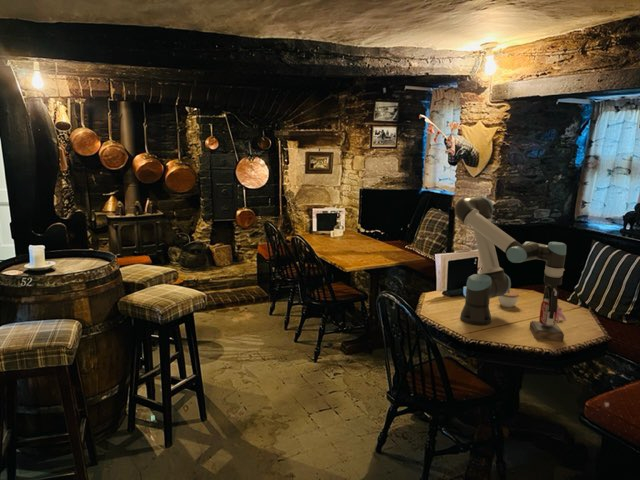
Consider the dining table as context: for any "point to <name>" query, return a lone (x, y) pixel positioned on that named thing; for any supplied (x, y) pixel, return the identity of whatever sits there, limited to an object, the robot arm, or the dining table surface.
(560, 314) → the lily
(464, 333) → the dining table surface
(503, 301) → the lidded jar
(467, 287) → the robot arm
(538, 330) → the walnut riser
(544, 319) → the soda can
